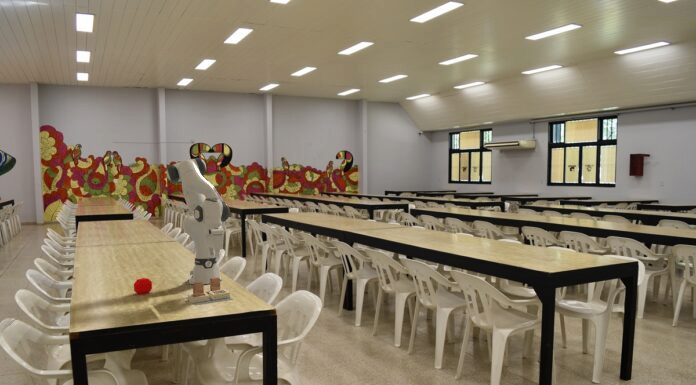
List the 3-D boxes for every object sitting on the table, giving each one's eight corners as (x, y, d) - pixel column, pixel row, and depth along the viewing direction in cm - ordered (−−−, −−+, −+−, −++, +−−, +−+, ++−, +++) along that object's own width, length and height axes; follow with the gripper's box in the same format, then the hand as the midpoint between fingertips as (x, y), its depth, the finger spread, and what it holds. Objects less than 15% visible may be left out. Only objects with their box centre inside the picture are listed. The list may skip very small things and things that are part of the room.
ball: (145, 291, 262) (144, 276, 262) (154, 292, 258) (154, 278, 258) (131, 294, 255) (131, 279, 255) (141, 295, 251) (141, 281, 251)
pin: (193, 300, 234) (192, 283, 234) (201, 298, 237) (201, 282, 236) (195, 301, 231) (194, 284, 231) (204, 300, 233) (203, 283, 233)
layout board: (185, 300, 239) (185, 292, 239) (222, 294, 249) (221, 287, 249) (194, 308, 224) (194, 300, 224) (233, 302, 233) (233, 294, 233)
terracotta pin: (210, 293, 253) (209, 277, 252) (218, 292, 255) (217, 276, 254) (212, 294, 249) (212, 279, 249) (220, 293, 251) (219, 278, 251)
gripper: (201, 228, 258) (202, 254, 259) (212, 231, 241) (213, 259, 241) (213, 227, 261) (214, 253, 262) (225, 230, 244) (226, 258, 244)
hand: (214, 256), depth 251 cm, fingers open, 8 cm apart
